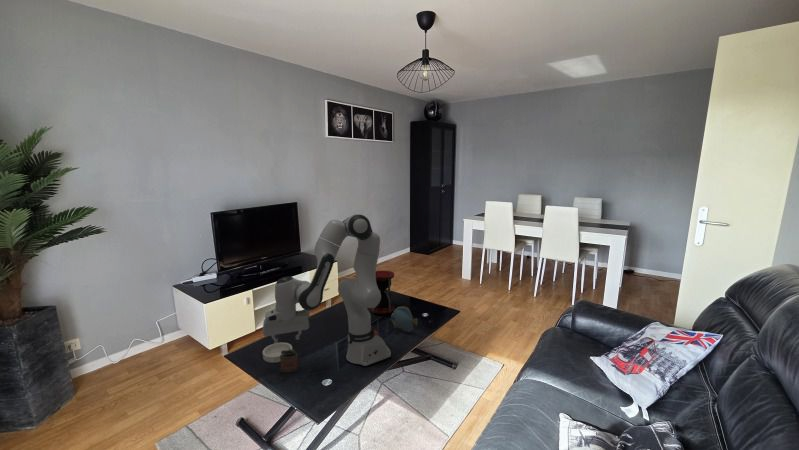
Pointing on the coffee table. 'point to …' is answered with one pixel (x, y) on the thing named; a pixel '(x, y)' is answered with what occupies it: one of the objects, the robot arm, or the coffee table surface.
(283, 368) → the lighter
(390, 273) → the hourglass
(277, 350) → the ring dish
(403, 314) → the decorative fish sculpture
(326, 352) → the coffee table surface
